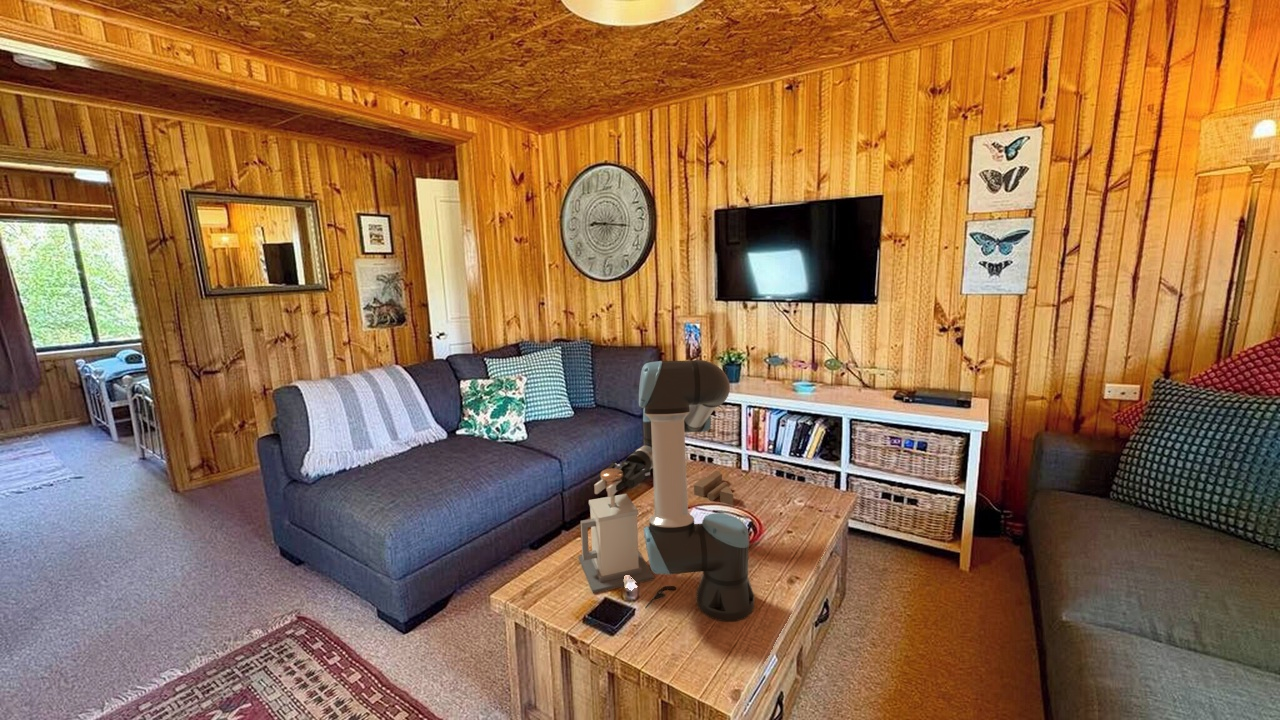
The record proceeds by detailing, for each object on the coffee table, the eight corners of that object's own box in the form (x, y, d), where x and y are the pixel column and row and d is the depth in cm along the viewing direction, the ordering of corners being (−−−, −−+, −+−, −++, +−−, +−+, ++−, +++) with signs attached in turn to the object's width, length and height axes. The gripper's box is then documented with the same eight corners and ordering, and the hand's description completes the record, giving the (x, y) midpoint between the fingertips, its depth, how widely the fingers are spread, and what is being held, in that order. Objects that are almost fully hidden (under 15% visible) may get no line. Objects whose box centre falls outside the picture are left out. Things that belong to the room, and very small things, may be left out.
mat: (654, 579, 146) (654, 576, 146) (592, 593, 140) (592, 590, 140) (634, 547, 163) (634, 544, 162) (578, 558, 157) (578, 555, 157)
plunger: (628, 549, 148) (625, 475, 144) (606, 553, 146) (603, 478, 142) (621, 538, 154) (619, 467, 150) (601, 542, 152) (598, 470, 148)
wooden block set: (692, 482, 197) (714, 467, 211) (692, 496, 198) (714, 480, 212) (732, 493, 187) (753, 476, 201) (732, 507, 188) (752, 490, 202)
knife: (664, 584, 144) (664, 582, 144) (677, 589, 142) (677, 587, 142) (639, 614, 132) (639, 612, 132) (652, 620, 130) (652, 618, 130)
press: (641, 572, 147) (640, 511, 144) (588, 584, 142) (585, 521, 139) (628, 550, 159) (626, 492, 155) (579, 560, 154) (576, 501, 150)
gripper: (665, 477, 159) (628, 509, 138) (619, 468, 166) (577, 497, 146) (665, 454, 157) (627, 483, 137) (618, 446, 165) (576, 473, 145)
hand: (602, 490), depth 142 cm, fingers closed on plunger, 4 cm apart
